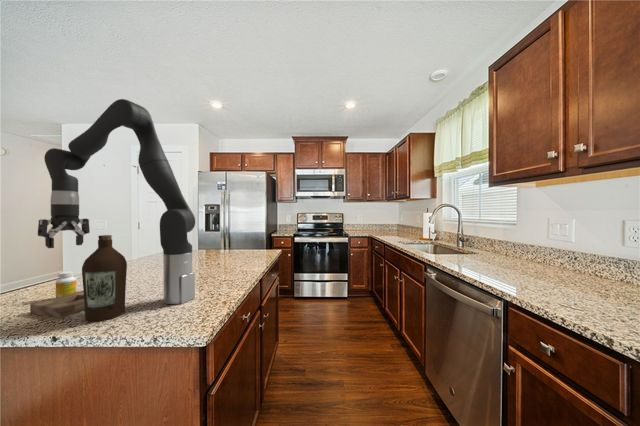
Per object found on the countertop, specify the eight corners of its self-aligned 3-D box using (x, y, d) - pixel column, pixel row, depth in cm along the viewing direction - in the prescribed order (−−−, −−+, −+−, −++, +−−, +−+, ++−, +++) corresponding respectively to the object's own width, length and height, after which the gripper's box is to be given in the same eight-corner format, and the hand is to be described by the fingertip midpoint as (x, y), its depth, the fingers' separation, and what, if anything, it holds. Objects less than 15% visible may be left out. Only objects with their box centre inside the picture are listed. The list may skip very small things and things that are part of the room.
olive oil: (90, 312, 80) (90, 234, 80) (131, 306, 84) (130, 233, 84) (75, 325, 70) (74, 237, 70) (121, 318, 75) (121, 236, 75)
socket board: (110, 302, 89) (110, 293, 89) (60, 318, 75) (60, 308, 75) (82, 298, 93) (82, 290, 93) (30, 313, 79) (30, 304, 79)
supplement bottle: (62, 301, 90) (62, 274, 90) (51, 300, 91) (51, 273, 91) (79, 296, 96) (79, 271, 96) (69, 295, 97) (68, 270, 97)
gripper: (47, 202, 85) (47, 249, 86) (94, 204, 99) (94, 244, 99) (32, 202, 87) (32, 248, 87) (80, 204, 101) (80, 244, 101)
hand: (65, 246), depth 93 cm, fingers open, 8 cm apart
